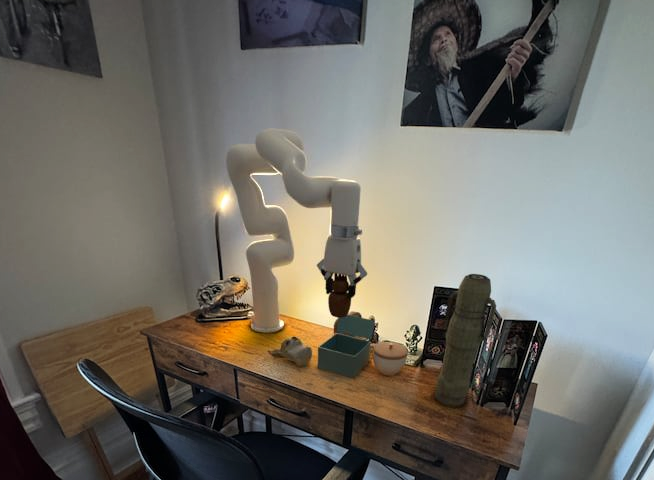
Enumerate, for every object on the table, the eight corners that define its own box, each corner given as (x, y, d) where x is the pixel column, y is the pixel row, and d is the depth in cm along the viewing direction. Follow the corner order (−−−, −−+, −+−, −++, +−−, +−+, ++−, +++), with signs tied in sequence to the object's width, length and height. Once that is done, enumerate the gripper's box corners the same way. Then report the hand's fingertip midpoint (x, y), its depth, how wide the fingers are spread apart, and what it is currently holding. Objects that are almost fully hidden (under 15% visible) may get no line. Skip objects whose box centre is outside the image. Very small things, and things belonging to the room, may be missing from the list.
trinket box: (386, 359, 128) (389, 334, 123) (411, 371, 121) (415, 345, 116) (364, 369, 121) (366, 343, 116) (390, 383, 115) (393, 355, 110)
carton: (317, 367, 121) (317, 347, 117) (335, 352, 130) (336, 333, 127) (353, 377, 116) (355, 356, 112) (369, 361, 126) (371, 341, 122)
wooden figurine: (326, 317, 114) (327, 267, 106) (329, 311, 119) (332, 262, 111) (348, 320, 113) (351, 270, 105) (351, 313, 118) (354, 265, 110)
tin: (338, 342, 137) (339, 321, 133) (331, 340, 139) (332, 318, 134) (362, 330, 148) (363, 310, 143) (355, 328, 149) (356, 308, 145)
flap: (339, 312, 125) (340, 312, 125) (336, 331, 126) (336, 331, 126) (375, 320, 120) (375, 320, 121) (370, 339, 122) (371, 339, 122)
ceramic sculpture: (296, 347, 112) (264, 335, 121) (297, 373, 116) (266, 359, 125) (321, 337, 119) (289, 326, 128) (321, 362, 123) (290, 350, 132)
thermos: (435, 384, 115) (459, 268, 97) (474, 397, 110) (506, 277, 92) (424, 397, 108) (447, 275, 90) (464, 412, 103) (498, 285, 85)
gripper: (378, 234, 103) (371, 297, 113) (322, 225, 109) (320, 286, 118) (367, 238, 97) (361, 305, 107) (309, 229, 103) (308, 292, 113)
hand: (340, 294), depth 113 cm, fingers closed on wooden figurine, 6 cm apart
